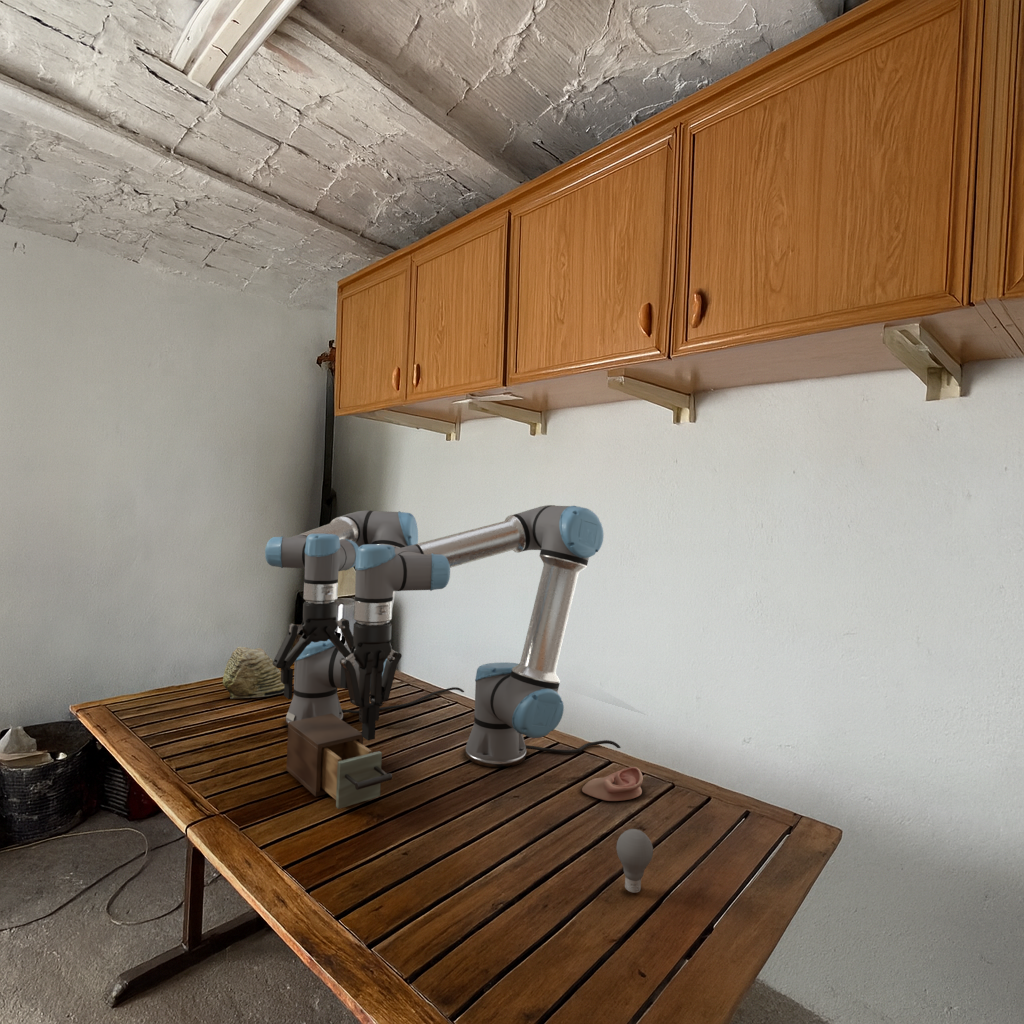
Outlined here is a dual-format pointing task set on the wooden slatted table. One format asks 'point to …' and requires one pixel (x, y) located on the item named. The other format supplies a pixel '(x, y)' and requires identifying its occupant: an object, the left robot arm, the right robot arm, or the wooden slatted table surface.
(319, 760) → the cabinet
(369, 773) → the drawer
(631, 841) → the light bulb
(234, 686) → the fossil
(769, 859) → the wooden slatted table surface
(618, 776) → the anatomical model
